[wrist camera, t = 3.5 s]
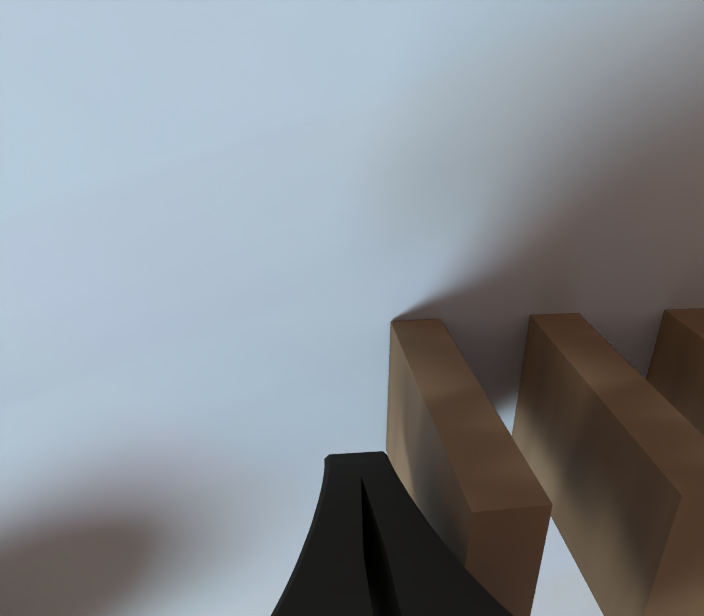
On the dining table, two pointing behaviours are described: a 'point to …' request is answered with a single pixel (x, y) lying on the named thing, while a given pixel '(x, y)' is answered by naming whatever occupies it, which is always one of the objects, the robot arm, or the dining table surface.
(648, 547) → the domino
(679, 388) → the domino
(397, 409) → the domino
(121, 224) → the dining table surface
